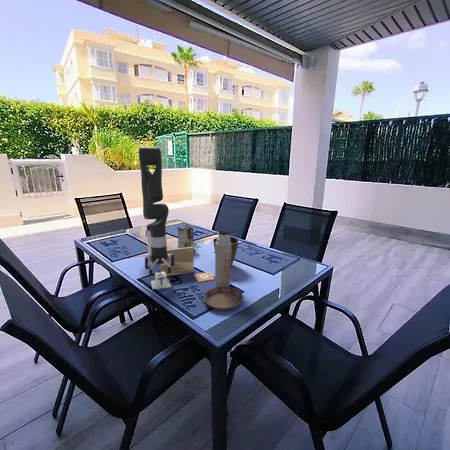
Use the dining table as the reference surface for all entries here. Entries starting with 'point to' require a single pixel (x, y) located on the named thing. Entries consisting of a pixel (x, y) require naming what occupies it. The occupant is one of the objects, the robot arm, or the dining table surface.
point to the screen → (180, 261)
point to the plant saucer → (223, 298)
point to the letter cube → (160, 278)
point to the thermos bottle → (223, 260)
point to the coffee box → (185, 237)
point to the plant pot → (233, 247)
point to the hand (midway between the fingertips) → (160, 274)
